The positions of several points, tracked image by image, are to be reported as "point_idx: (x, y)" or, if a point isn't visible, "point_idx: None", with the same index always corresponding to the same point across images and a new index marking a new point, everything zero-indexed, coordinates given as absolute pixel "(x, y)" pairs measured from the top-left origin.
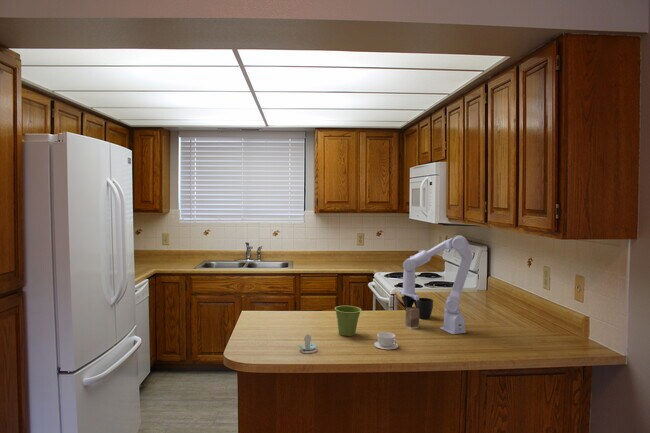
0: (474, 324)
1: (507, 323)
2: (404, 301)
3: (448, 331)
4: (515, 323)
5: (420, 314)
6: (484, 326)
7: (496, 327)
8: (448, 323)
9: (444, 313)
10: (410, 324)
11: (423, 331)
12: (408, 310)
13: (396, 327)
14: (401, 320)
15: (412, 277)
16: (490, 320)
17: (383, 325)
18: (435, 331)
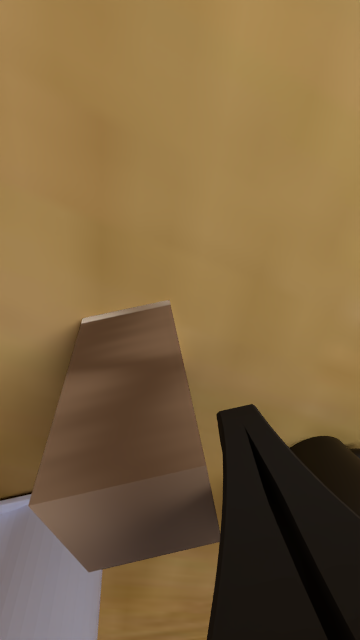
0: (155, 577)
1: (155, 626)
2: (325, 571)
3: (3, 505)
4: (152, 634)
5: (316, 464)
6: (125, 592)
7: (110, 610)
8: (3, 562)
9: (31, 637)
10: (81, 339)
11: (13, 387)
12: (122, 450)
13: (129, 191)
14: (322, 320)
15: None
16: (196, 606)
17: (230, 28)
18: (26, 450)
